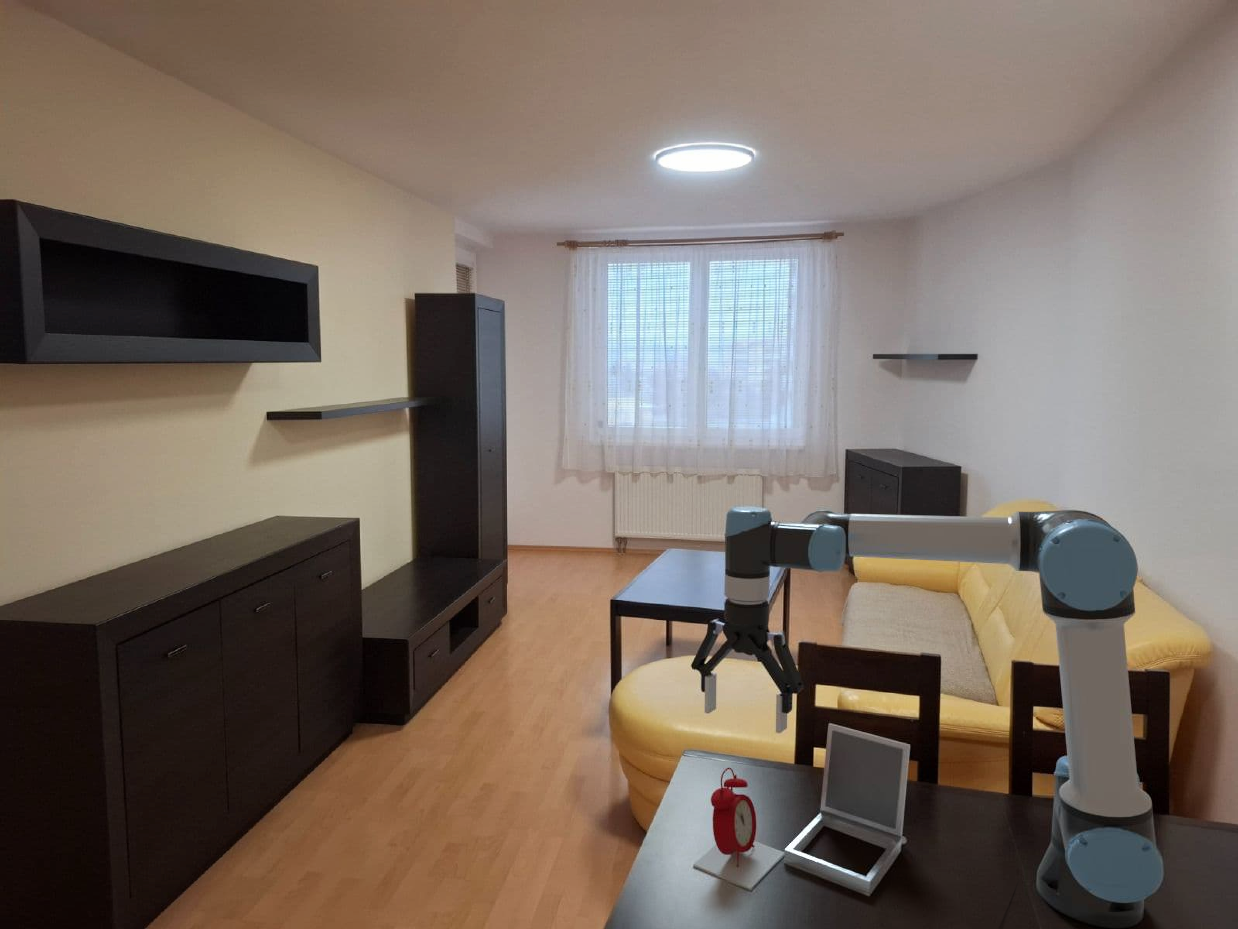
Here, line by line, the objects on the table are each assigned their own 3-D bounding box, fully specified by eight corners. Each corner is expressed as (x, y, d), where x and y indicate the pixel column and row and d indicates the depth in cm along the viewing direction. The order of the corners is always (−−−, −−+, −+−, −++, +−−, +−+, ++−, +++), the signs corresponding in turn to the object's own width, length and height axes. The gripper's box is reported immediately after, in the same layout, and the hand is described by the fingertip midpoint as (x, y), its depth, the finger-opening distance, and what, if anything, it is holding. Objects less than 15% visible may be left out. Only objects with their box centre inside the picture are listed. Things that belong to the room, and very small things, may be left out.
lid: (899, 836, 144) (902, 835, 145) (908, 746, 144) (910, 744, 145) (819, 809, 152) (822, 808, 153) (827, 724, 153) (830, 723, 154)
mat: (785, 854, 143) (785, 852, 143) (750, 890, 133) (750, 888, 133) (730, 834, 150) (730, 831, 150) (693, 866, 139) (693, 864, 139)
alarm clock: (738, 874, 137) (740, 789, 135) (704, 863, 140) (706, 779, 138) (761, 845, 146) (763, 765, 144) (728, 835, 149) (730, 756, 147)
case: (900, 852, 145) (901, 836, 144) (869, 896, 132) (869, 879, 132) (820, 824, 154) (821, 809, 153) (784, 863, 141) (784, 847, 140)
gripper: (825, 605, 133) (822, 731, 134) (695, 584, 147) (694, 697, 149) (806, 616, 127) (803, 747, 128) (672, 592, 141) (671, 710, 143)
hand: (744, 720), depth 139 cm, fingers open, 13 cm apart
